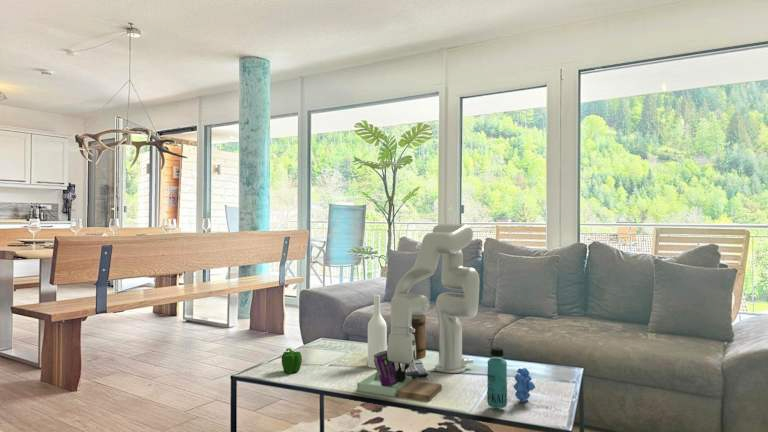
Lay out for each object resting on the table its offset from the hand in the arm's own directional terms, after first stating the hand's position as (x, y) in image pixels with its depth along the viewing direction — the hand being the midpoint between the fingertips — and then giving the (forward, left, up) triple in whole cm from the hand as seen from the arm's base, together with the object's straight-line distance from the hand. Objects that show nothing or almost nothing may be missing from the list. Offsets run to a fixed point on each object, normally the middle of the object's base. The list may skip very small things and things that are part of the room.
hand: (401, 381), depth 189 cm
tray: (+5, -5, -4) cm, 8 cm away
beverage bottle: (-25, +25, -4) cm, 36 cm away
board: (-6, +4, -4) cm, 8 cm away
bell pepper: (+37, -34, -4) cm, 50 cm away
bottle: (+1, -33, -4) cm, 34 cm away
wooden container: (-17, -45, -4) cm, 49 cm away
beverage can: (+3, -3, -2) cm, 5 cm away
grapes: (-37, +23, -4) cm, 44 cm away
